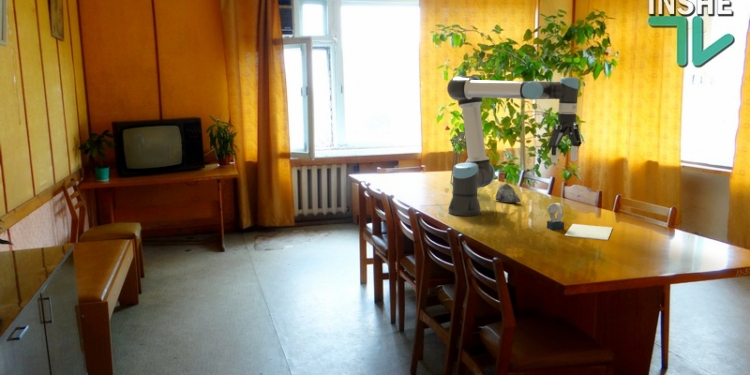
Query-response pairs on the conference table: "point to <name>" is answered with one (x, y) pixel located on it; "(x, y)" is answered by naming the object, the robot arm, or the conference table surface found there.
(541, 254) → the conference table surface
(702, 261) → the conference table surface
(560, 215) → the watch
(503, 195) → the mineral rock
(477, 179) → the robot arm
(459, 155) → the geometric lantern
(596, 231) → the felt mat
